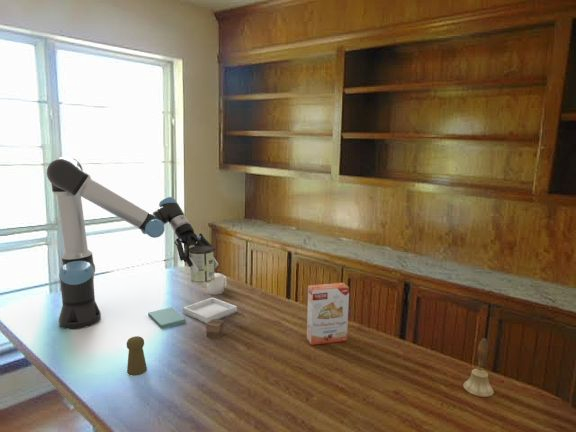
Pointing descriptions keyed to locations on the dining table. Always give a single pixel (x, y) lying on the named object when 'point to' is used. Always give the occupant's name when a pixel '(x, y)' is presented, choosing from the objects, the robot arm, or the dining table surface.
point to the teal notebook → (166, 317)
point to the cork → (136, 356)
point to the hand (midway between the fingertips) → (206, 268)
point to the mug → (217, 284)
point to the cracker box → (327, 313)
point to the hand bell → (479, 375)
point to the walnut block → (215, 328)
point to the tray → (209, 310)
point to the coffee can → (202, 264)
